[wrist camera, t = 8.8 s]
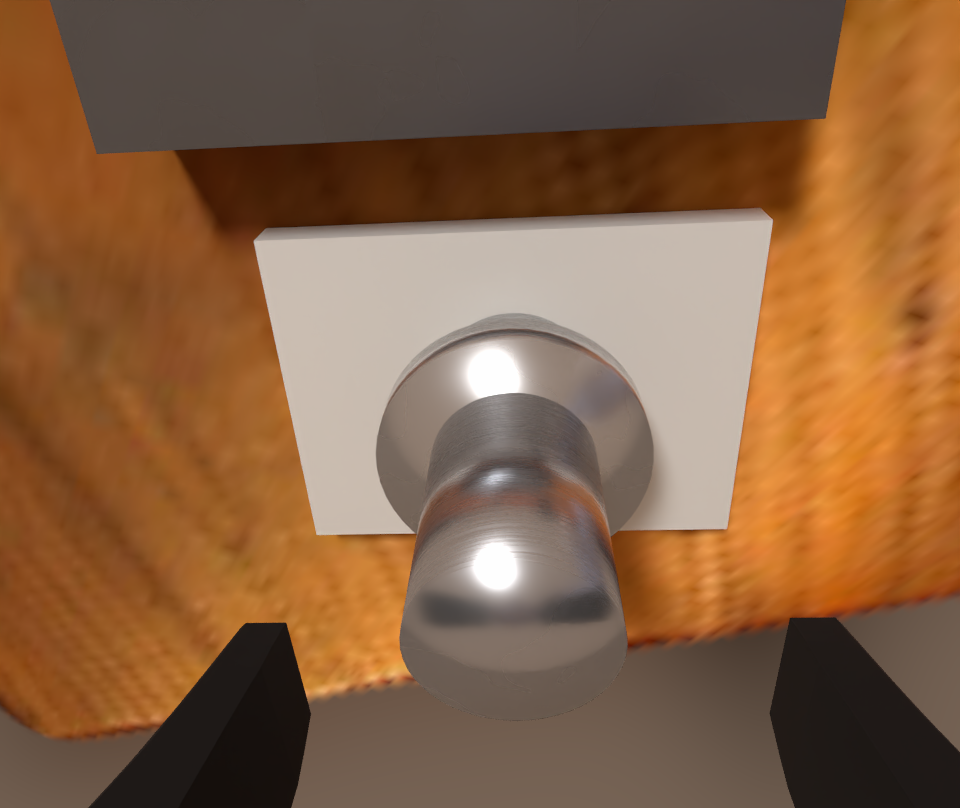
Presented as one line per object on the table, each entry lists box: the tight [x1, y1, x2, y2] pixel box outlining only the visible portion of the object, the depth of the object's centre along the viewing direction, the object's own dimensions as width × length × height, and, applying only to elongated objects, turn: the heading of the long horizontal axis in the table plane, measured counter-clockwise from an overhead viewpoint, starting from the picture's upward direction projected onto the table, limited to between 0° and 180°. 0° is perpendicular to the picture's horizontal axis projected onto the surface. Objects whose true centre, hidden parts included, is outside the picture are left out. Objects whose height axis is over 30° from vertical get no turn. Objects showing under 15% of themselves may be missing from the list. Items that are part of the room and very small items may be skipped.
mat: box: [254, 208, 773, 535], centre depth 20 cm, size 12×9×1 cm
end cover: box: [376, 313, 654, 721], centre depth 15 cm, size 6×6×9 cm
